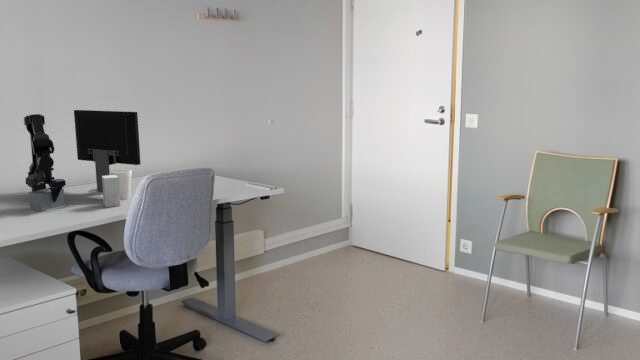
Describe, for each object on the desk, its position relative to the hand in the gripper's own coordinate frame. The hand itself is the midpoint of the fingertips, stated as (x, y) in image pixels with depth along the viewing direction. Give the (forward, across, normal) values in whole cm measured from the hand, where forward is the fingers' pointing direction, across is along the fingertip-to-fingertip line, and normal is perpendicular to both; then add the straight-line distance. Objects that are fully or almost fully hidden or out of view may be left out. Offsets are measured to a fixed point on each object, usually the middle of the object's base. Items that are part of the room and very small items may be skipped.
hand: (47, 201), depth 268 cm
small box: (+3, +22, +16) cm, 27 cm away
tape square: (+3, 0, 0) cm, 3 cm away
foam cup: (+3, +16, +29) cm, 33 cm away
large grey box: (+3, 0, 0) cm, 3 cm away
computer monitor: (+3, -2, +38) cm, 38 cm away
